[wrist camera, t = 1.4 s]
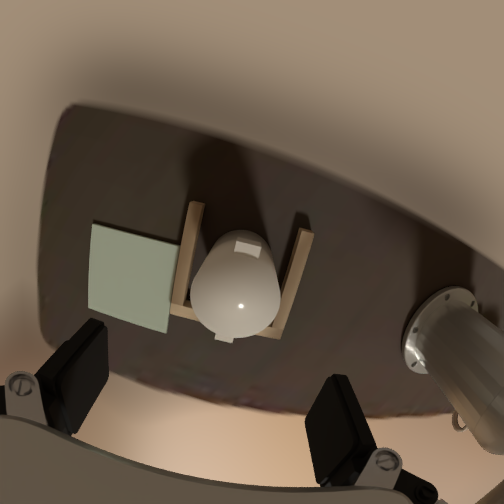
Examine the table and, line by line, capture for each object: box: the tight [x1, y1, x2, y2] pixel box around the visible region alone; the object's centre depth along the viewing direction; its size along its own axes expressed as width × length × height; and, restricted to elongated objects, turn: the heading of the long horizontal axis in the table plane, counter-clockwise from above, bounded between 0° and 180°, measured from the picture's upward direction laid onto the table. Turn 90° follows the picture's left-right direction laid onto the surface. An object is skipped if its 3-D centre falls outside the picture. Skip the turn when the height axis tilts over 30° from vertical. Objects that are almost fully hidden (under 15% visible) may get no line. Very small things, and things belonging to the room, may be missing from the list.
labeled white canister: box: [190, 230, 281, 343], centre depth 23 cm, size 6×8×9 cm
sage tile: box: [88, 223, 181, 333], centre depth 28 cm, size 10×10×1 cm
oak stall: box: [170, 201, 314, 339], centre depth 27 cm, size 11×11×2 cm
